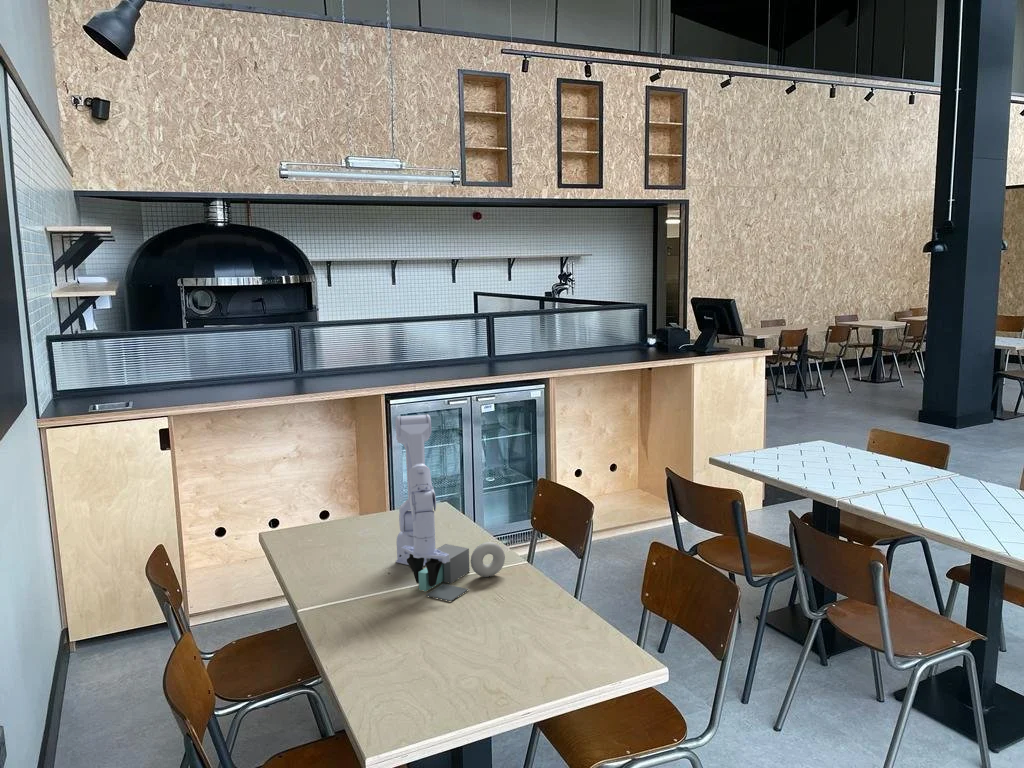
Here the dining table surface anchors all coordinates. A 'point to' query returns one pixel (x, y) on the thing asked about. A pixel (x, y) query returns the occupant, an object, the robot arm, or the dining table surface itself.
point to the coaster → (446, 592)
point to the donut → (479, 555)
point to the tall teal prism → (425, 578)
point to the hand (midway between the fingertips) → (426, 583)
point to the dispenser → (455, 562)
